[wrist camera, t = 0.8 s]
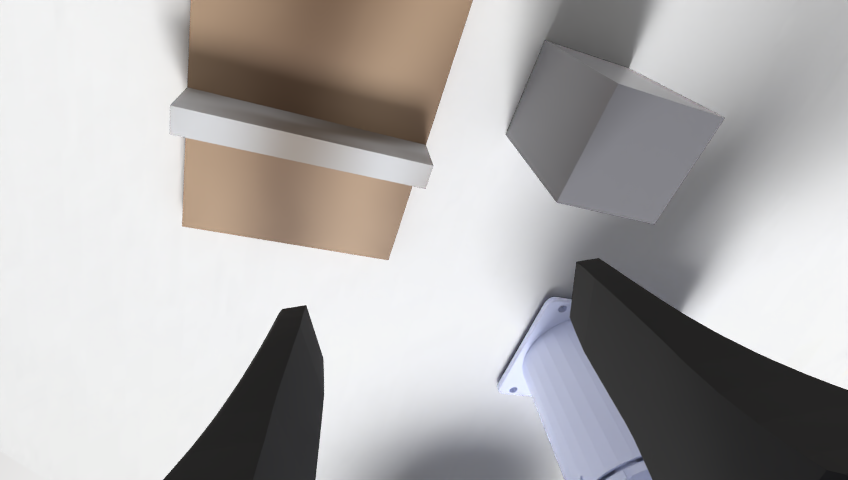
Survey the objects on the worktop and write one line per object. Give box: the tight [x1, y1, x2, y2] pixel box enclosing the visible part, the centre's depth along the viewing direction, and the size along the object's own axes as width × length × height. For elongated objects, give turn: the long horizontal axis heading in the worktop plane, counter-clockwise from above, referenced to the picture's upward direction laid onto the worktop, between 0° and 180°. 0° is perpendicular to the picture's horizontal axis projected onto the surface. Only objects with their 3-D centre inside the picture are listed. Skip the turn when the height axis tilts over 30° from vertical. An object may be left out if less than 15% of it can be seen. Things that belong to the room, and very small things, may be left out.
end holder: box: [170, 0, 473, 260], centre depth 16 cm, size 9×18×3 cm, turn 163°
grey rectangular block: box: [506, 40, 725, 224], centre depth 17 cm, size 4×4×6 cm
